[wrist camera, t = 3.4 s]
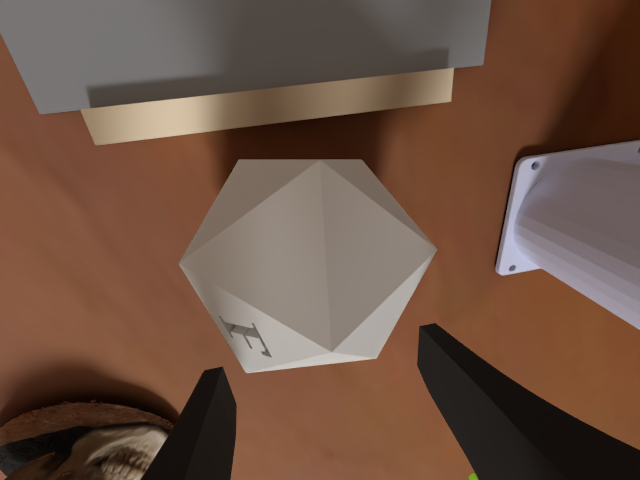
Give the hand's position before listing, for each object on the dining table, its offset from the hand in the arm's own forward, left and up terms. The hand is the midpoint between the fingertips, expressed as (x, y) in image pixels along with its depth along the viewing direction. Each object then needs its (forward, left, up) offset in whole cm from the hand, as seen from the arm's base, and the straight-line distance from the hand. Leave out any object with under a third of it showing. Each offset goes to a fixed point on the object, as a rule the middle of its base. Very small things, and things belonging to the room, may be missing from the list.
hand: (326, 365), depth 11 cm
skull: (+17, +9, -10) cm, 22 cm away
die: (0, -3, -8) cm, 9 cm away
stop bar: (0, -8, -8) cm, 12 cm away
